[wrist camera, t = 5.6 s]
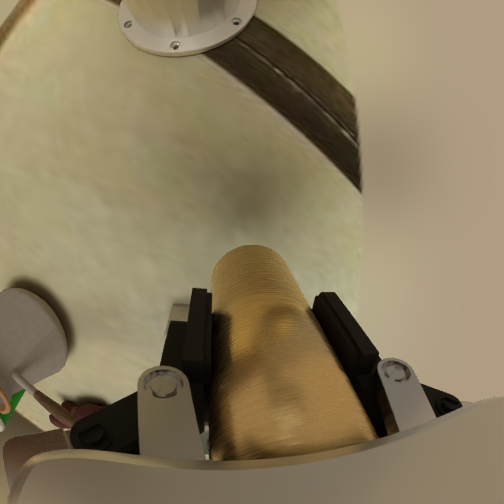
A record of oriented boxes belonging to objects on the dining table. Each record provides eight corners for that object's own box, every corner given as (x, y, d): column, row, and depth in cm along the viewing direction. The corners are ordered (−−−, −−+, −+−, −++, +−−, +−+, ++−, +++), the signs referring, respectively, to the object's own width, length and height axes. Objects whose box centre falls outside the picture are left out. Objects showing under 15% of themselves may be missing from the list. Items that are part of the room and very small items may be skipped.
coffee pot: (26, 353, 26) (-22, 426, 12) (-4, 278, 23) (-77, 341, 8) (162, 366, 28) (141, 482, 14) (140, 273, 24) (74, 389, 10)
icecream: (140, 439, 24) (39, 401, 23) (145, 474, 25) (51, 439, 24) (154, 408, 31) (62, 380, 30) (156, 443, 32) (70, 416, 31)
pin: (213, 242, 13) (212, 538, 2) (295, 247, 14) (446, 477, 3) (210, 313, 15) (215, 555, 3) (283, 315, 15) (362, 531, 4)
